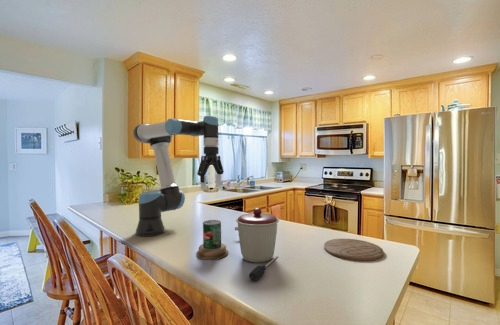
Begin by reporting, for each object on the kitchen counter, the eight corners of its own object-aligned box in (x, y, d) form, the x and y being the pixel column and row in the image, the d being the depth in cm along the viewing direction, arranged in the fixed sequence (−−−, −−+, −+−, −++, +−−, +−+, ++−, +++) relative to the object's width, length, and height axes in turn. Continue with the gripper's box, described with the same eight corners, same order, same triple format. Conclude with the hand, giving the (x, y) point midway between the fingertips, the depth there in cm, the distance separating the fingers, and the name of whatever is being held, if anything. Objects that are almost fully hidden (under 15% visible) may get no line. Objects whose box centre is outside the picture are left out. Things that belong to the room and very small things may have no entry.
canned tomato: (224, 245, 119) (224, 220, 119) (216, 250, 112) (216, 225, 112) (208, 243, 122) (208, 219, 122) (199, 248, 114) (199, 223, 114)
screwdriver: (273, 256, 114) (273, 248, 114) (281, 258, 112) (281, 249, 112) (247, 283, 90) (247, 272, 90) (257, 285, 89) (257, 274, 88)
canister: (281, 252, 119) (281, 205, 118) (276, 268, 101) (276, 213, 100) (241, 249, 122) (241, 203, 122) (230, 265, 105) (230, 211, 104)
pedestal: (189, 256, 114) (189, 249, 114) (208, 246, 126) (208, 240, 126) (217, 262, 108) (217, 254, 107) (234, 251, 120) (234, 244, 120)
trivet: (313, 246, 127) (313, 242, 127) (353, 239, 137) (353, 236, 137) (350, 266, 104) (350, 261, 104) (396, 256, 113) (397, 252, 113)
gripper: (202, 145, 124) (202, 190, 124) (229, 147, 146) (229, 185, 146) (189, 145, 127) (190, 190, 127) (218, 147, 149) (218, 185, 150)
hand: (211, 187), depth 137 cm, fingers open, 13 cm apart
